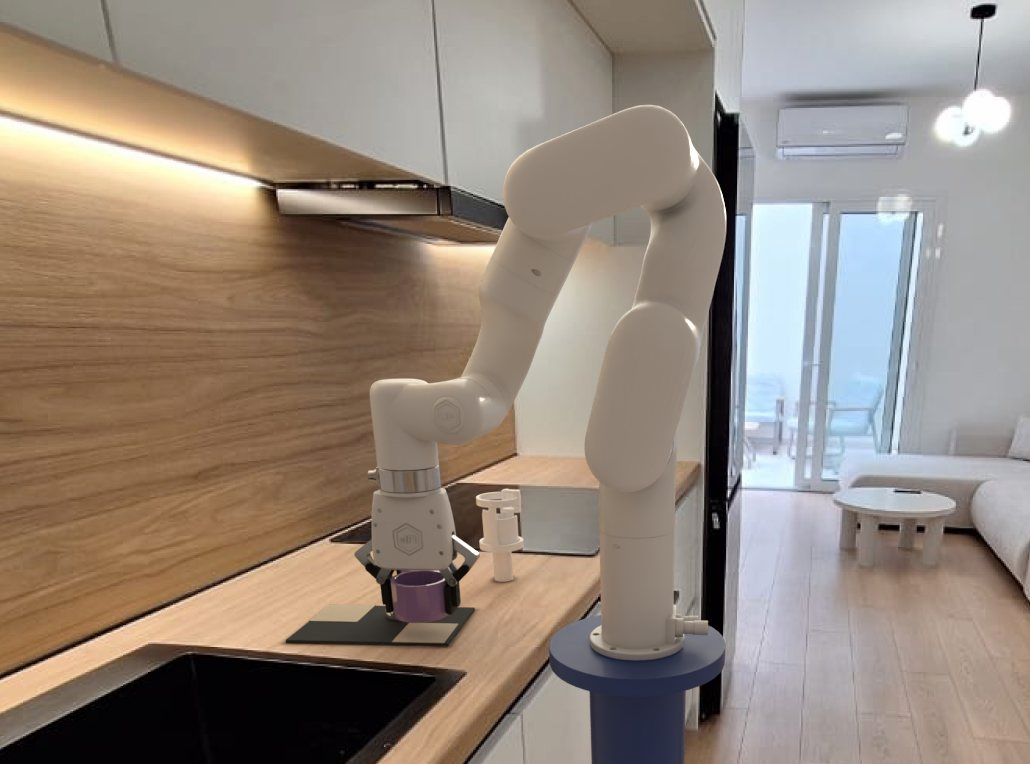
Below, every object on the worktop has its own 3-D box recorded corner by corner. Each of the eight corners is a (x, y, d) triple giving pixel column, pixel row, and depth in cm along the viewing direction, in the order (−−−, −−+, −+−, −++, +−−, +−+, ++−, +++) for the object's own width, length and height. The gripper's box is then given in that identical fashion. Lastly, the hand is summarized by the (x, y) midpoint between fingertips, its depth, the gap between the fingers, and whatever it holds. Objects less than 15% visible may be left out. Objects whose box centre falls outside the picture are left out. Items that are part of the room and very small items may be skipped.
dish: (457, 604, 113) (454, 570, 111) (441, 623, 106) (438, 587, 104) (405, 603, 113) (401, 569, 111) (386, 622, 106) (381, 586, 104)
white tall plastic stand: (517, 586, 130) (512, 494, 125) (476, 584, 131) (468, 492, 126) (530, 573, 137) (525, 485, 131) (490, 571, 138) (484, 484, 132)
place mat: (474, 609, 120) (474, 606, 120) (448, 646, 107) (447, 642, 107) (330, 607, 121) (329, 604, 121) (285, 642, 108) (285, 639, 108)
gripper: (330, 484, 100) (348, 618, 106) (469, 487, 99) (479, 622, 105) (354, 473, 107) (369, 599, 113) (484, 476, 106) (492, 602, 112)
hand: (422, 609), depth 109 cm, fingers closed on dish, 7 cm apart
